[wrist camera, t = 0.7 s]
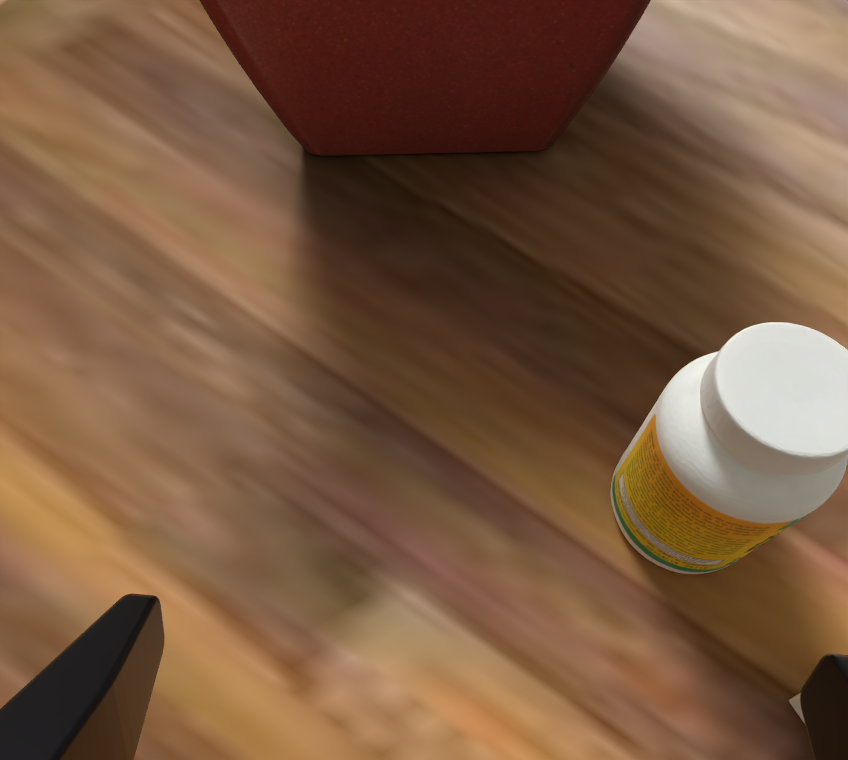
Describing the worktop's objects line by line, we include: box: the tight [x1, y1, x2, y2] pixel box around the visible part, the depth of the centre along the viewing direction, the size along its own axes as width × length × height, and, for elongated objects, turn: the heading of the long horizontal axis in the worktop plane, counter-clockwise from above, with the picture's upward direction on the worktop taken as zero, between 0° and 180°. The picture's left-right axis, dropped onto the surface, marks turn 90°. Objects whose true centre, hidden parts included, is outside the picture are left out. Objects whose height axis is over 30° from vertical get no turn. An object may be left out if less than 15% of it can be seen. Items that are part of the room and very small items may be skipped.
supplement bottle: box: [610, 322, 848, 574], centre depth 22 cm, size 5×5×10 cm
